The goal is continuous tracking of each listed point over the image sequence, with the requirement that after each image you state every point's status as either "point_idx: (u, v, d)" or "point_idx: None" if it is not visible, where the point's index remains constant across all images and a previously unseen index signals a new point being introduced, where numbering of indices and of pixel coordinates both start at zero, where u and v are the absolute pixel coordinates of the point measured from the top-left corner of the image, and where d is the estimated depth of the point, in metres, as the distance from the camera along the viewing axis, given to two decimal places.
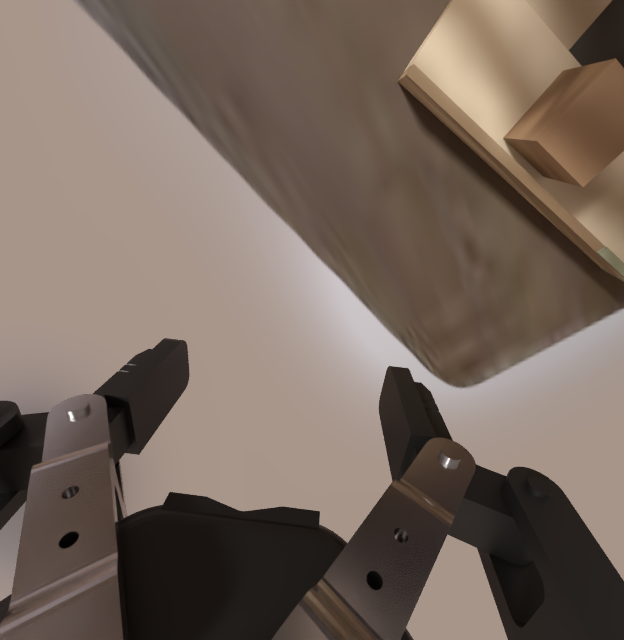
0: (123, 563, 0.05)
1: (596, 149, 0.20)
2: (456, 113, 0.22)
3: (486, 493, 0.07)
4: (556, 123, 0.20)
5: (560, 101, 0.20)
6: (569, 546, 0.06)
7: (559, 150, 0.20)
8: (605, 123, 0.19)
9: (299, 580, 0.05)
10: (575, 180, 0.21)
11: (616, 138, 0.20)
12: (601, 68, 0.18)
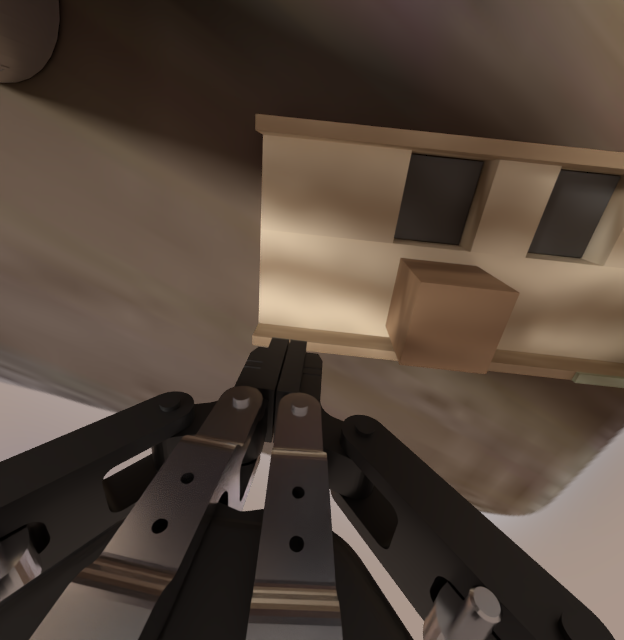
0: (185, 582, 0.05)
1: (469, 344, 0.17)
2: (317, 347, 0.21)
3: (326, 436, 0.08)
4: (406, 346, 0.17)
5: (403, 312, 0.18)
6: (398, 466, 0.07)
7: (429, 361, 0.17)
8: (459, 324, 0.16)
9: None
10: None
11: (483, 328, 0.16)
12: (416, 287, 0.16)
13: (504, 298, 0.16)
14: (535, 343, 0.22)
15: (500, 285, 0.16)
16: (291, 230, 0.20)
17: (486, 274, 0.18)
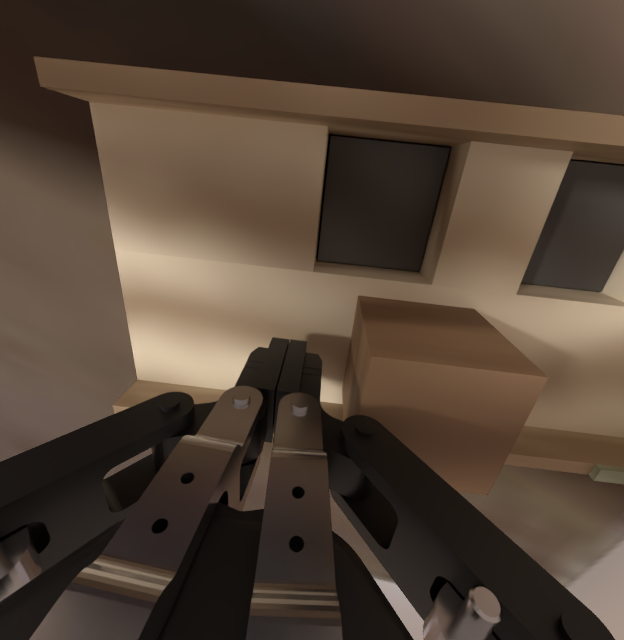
0: (185, 582, 0.05)
1: (460, 452, 0.10)
2: None
3: (326, 436, 0.08)
4: None
5: (354, 390, 0.11)
6: (398, 465, 0.07)
7: None
8: (441, 423, 0.10)
9: None
10: None
11: (483, 430, 0.10)
12: (366, 361, 0.09)
13: (519, 386, 0.09)
14: (534, 414, 0.15)
15: (512, 357, 0.09)
16: (160, 251, 0.13)
17: (488, 328, 0.11)
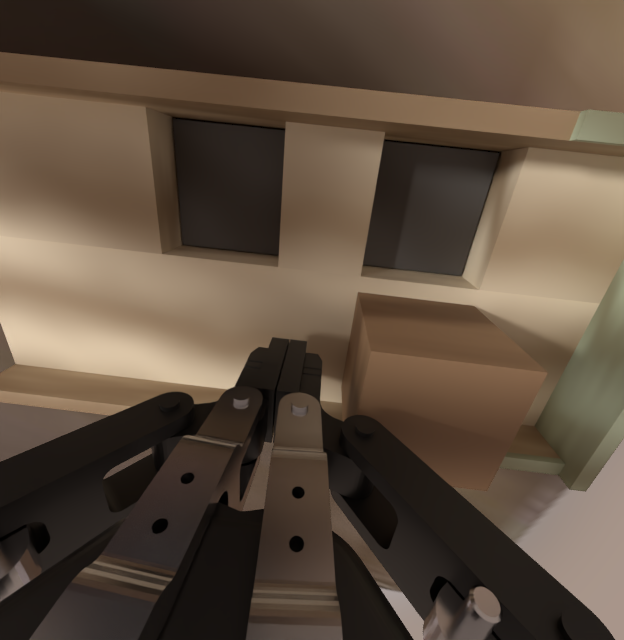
0: (185, 582, 0.05)
1: (459, 448, 0.10)
2: (72, 405, 0.14)
3: (326, 436, 0.08)
4: None
5: (353, 386, 0.11)
6: (398, 466, 0.07)
7: None
8: (441, 418, 0.10)
9: None
10: None
11: (482, 425, 0.10)
12: (366, 356, 0.09)
13: (519, 381, 0.09)
14: None
15: (512, 352, 0.09)
16: (10, 234, 0.13)
17: (488, 324, 0.11)
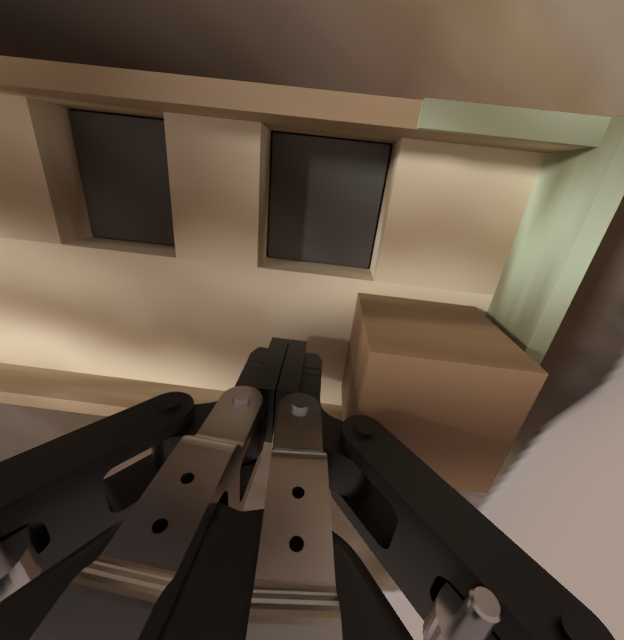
0: (185, 582, 0.05)
1: (460, 450, 0.10)
2: None
3: (326, 436, 0.08)
4: None
5: (353, 387, 0.11)
6: (398, 466, 0.07)
7: None
8: (441, 419, 0.09)
9: None
10: None
11: (483, 427, 0.09)
12: (365, 357, 0.09)
13: (519, 382, 0.09)
14: None
15: (512, 353, 0.09)
16: None
17: (488, 325, 0.11)
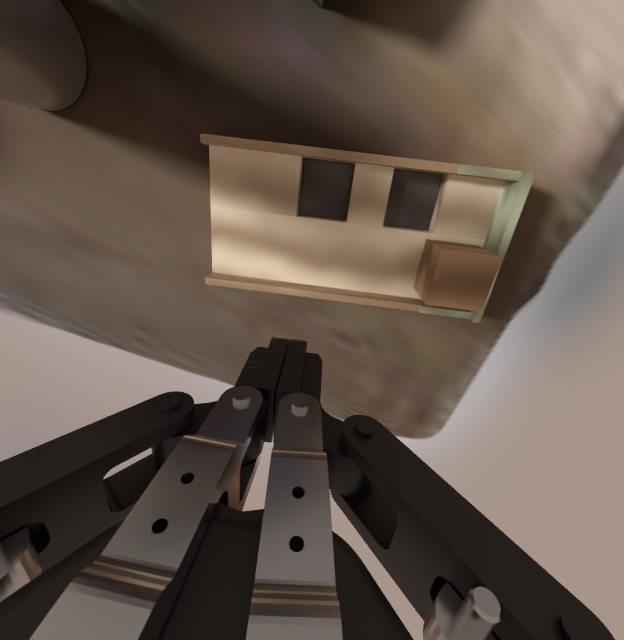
0: (185, 582, 0.05)
1: (471, 290, 0.27)
2: (248, 286, 0.31)
3: (326, 436, 0.08)
4: (431, 291, 0.27)
5: (429, 271, 0.28)
6: (398, 466, 0.07)
7: (445, 302, 0.27)
8: (465, 276, 0.26)
9: None
10: None
11: (480, 279, 0.26)
12: (438, 253, 0.26)
13: (492, 260, 0.26)
14: (400, 288, 0.32)
15: (490, 253, 0.26)
16: (230, 207, 0.30)
17: (482, 248, 0.28)
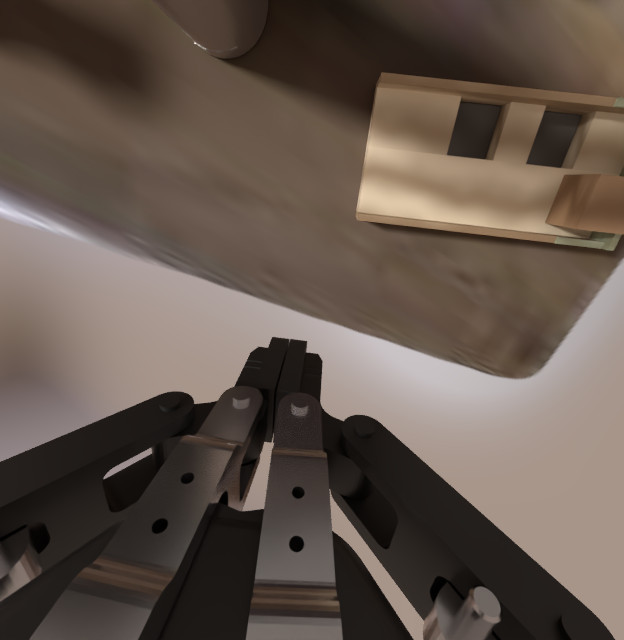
0: (185, 582, 0.05)
1: (620, 214, 0.30)
2: (398, 221, 0.34)
3: (326, 436, 0.08)
4: (583, 216, 0.30)
5: (577, 200, 0.31)
6: (398, 466, 0.07)
7: (594, 226, 0.30)
8: (617, 201, 0.29)
9: None
10: (617, 233, 0.31)
11: None
12: (594, 179, 0.29)
13: None
14: (532, 224, 0.35)
15: None
16: (386, 147, 0.33)
17: None
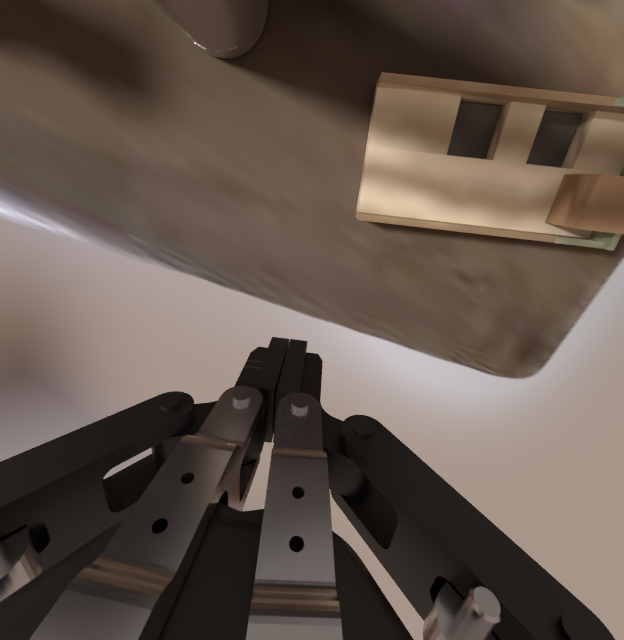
0: (185, 582, 0.05)
1: (620, 214, 0.30)
2: (398, 221, 0.34)
3: (326, 436, 0.08)
4: (583, 215, 0.30)
5: (577, 199, 0.31)
6: (398, 465, 0.07)
7: (594, 225, 0.30)
8: (617, 200, 0.29)
9: None
10: (617, 233, 0.31)
11: None
12: (594, 179, 0.29)
13: None
14: (532, 224, 0.35)
15: None
16: (386, 146, 0.33)
17: None
